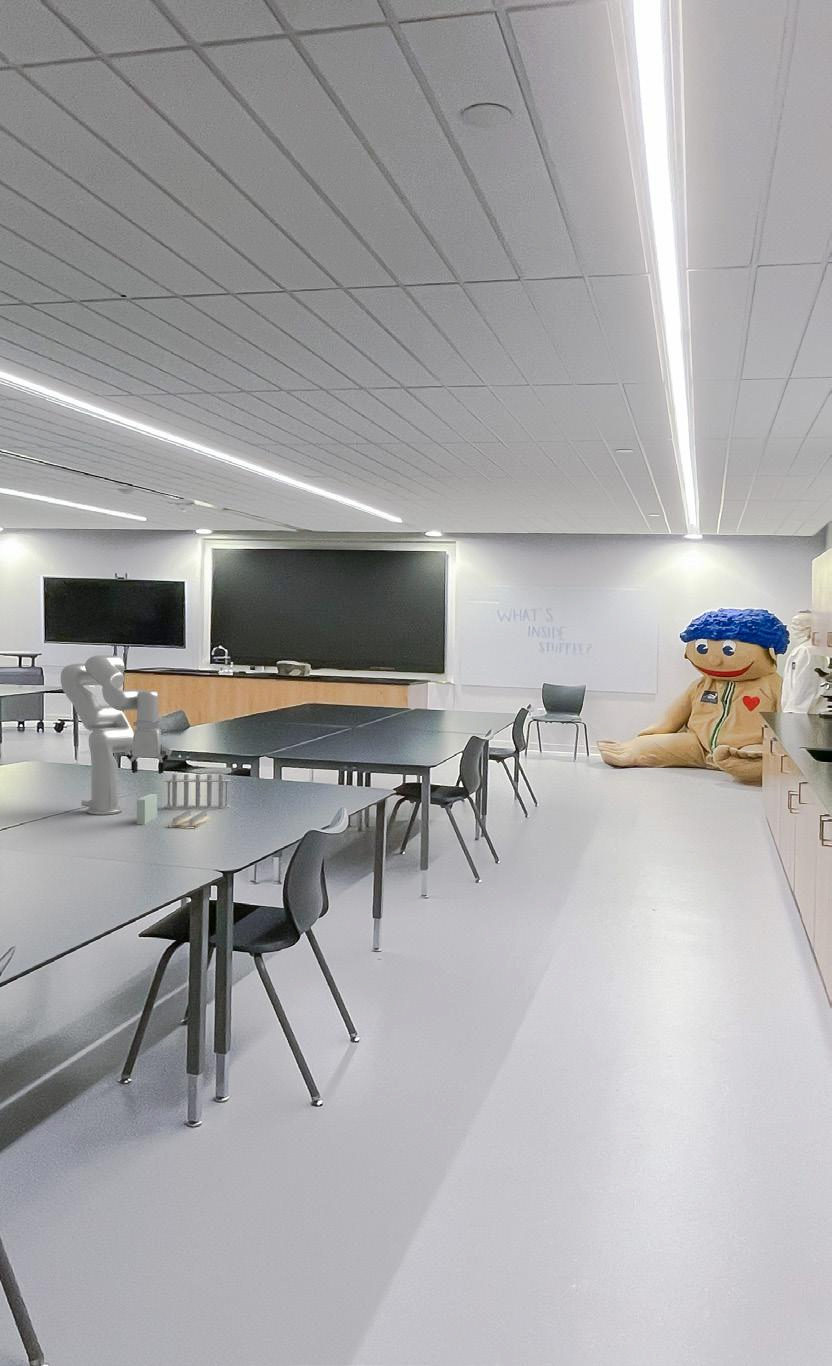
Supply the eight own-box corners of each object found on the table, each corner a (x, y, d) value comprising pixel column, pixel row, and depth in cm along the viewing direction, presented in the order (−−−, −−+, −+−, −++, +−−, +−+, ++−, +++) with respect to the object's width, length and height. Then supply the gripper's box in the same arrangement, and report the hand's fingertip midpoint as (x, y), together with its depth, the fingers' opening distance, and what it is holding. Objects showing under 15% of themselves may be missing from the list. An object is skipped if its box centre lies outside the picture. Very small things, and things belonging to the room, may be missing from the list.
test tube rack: (230, 807, 389) (230, 773, 389) (229, 809, 385) (230, 775, 384) (165, 807, 387) (165, 773, 386) (164, 809, 382) (164, 775, 382)
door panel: (136, 824, 351) (136, 799, 351) (149, 818, 363) (149, 794, 363) (144, 825, 351) (144, 799, 350) (157, 818, 363) (157, 794, 362)
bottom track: (167, 827, 347) (167, 819, 347) (185, 817, 365) (185, 809, 365) (195, 828, 346) (195, 820, 346) (211, 819, 364) (211, 810, 364)
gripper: (120, 725, 352) (120, 773, 353) (167, 726, 350) (167, 774, 351) (128, 724, 360) (128, 771, 360) (174, 725, 358) (174, 772, 359)
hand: (147, 772), depth 356 cm, fingers open, 9 cm apart
